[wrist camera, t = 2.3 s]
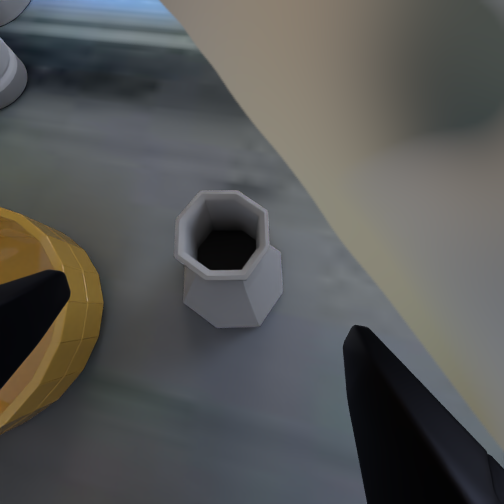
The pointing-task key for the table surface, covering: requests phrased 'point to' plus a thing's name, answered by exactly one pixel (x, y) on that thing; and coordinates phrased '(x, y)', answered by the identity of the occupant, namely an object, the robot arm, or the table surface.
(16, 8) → the lumpy-topped squat cylinder
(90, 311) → the bowl
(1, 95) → the travel mug
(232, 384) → the table surface
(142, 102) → the table surface
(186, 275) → the flask
